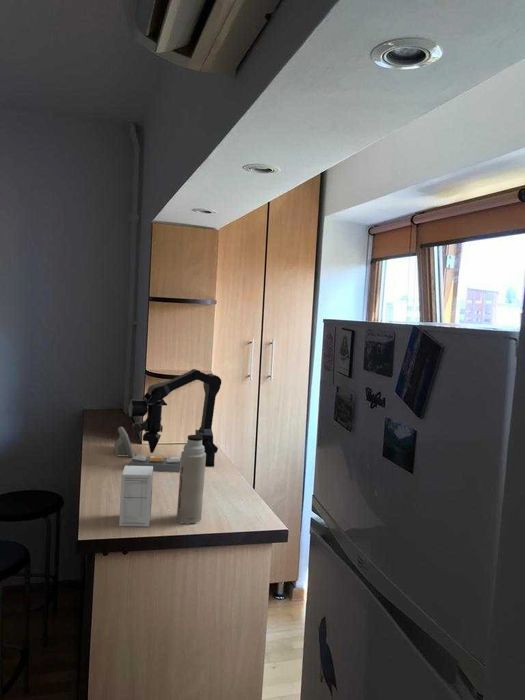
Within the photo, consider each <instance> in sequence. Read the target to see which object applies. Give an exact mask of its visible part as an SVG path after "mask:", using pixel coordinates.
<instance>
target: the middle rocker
mask: <svg viewBox="0 0 525 700" xmlns="http://www.w3.org/2000/svg"><path fill="white" fill-rule="evenodd" d="M149 457H150V461H163V457H164V455H150V456H149Z"/></svg>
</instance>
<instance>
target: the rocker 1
mask: <svg viewBox="0 0 525 700" xmlns="http://www.w3.org/2000/svg"><path fill="white" fill-rule="evenodd" d="M132 459H136V460H142V461H145V460H146V455H142V454H137V453H134V455H133V457H132V458H131V460H132Z"/></svg>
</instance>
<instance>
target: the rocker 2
mask: <svg viewBox="0 0 525 700" xmlns="http://www.w3.org/2000/svg"><path fill="white" fill-rule="evenodd" d="M166 458H167V462H178V461H180V458H181V455H180V456H167V457H166Z"/></svg>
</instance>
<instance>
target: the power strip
mask: <svg viewBox="0 0 525 700" xmlns="http://www.w3.org/2000/svg"><path fill="white" fill-rule="evenodd" d="M145 456H146V455H145ZM130 466H153V472H164V473H177V474H180V466H181V457H180V461H178V462H167V457H166V456H165V457H164V456H163V461H150V456H146V460H145V461H142V460H136V459H132V458H131V461H130Z"/></svg>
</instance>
